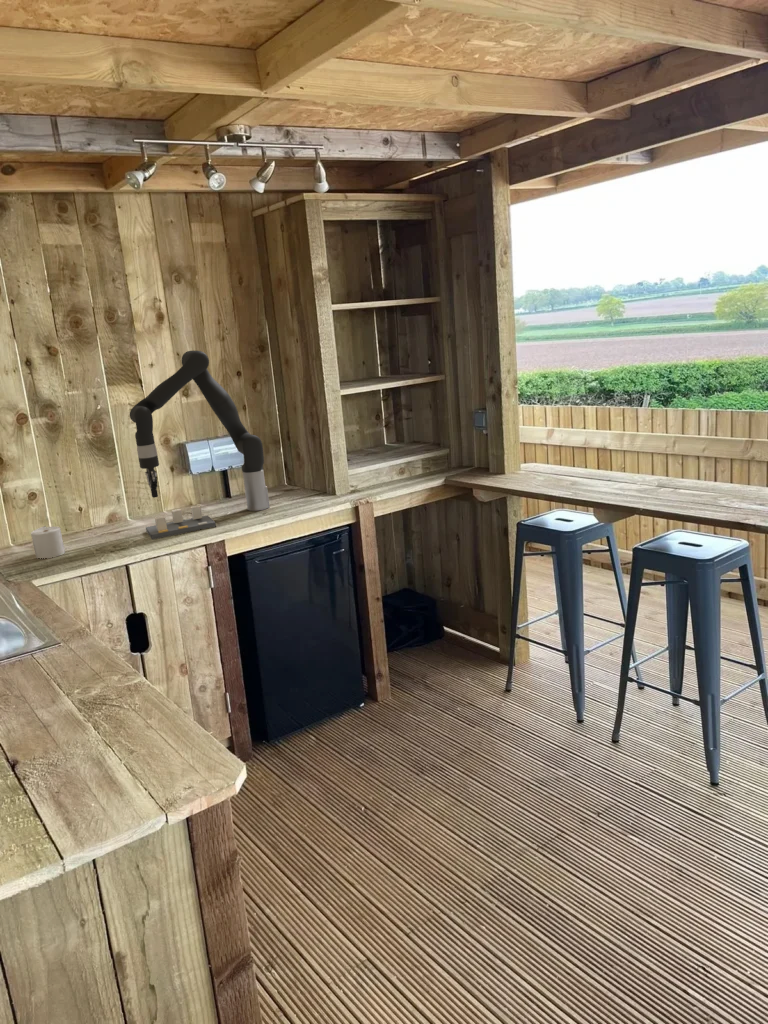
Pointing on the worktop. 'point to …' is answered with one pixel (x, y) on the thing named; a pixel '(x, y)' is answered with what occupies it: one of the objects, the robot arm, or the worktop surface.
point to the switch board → (181, 527)
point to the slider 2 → (196, 512)
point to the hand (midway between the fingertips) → (155, 496)
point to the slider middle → (177, 515)
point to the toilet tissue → (47, 542)
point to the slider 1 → (160, 523)
